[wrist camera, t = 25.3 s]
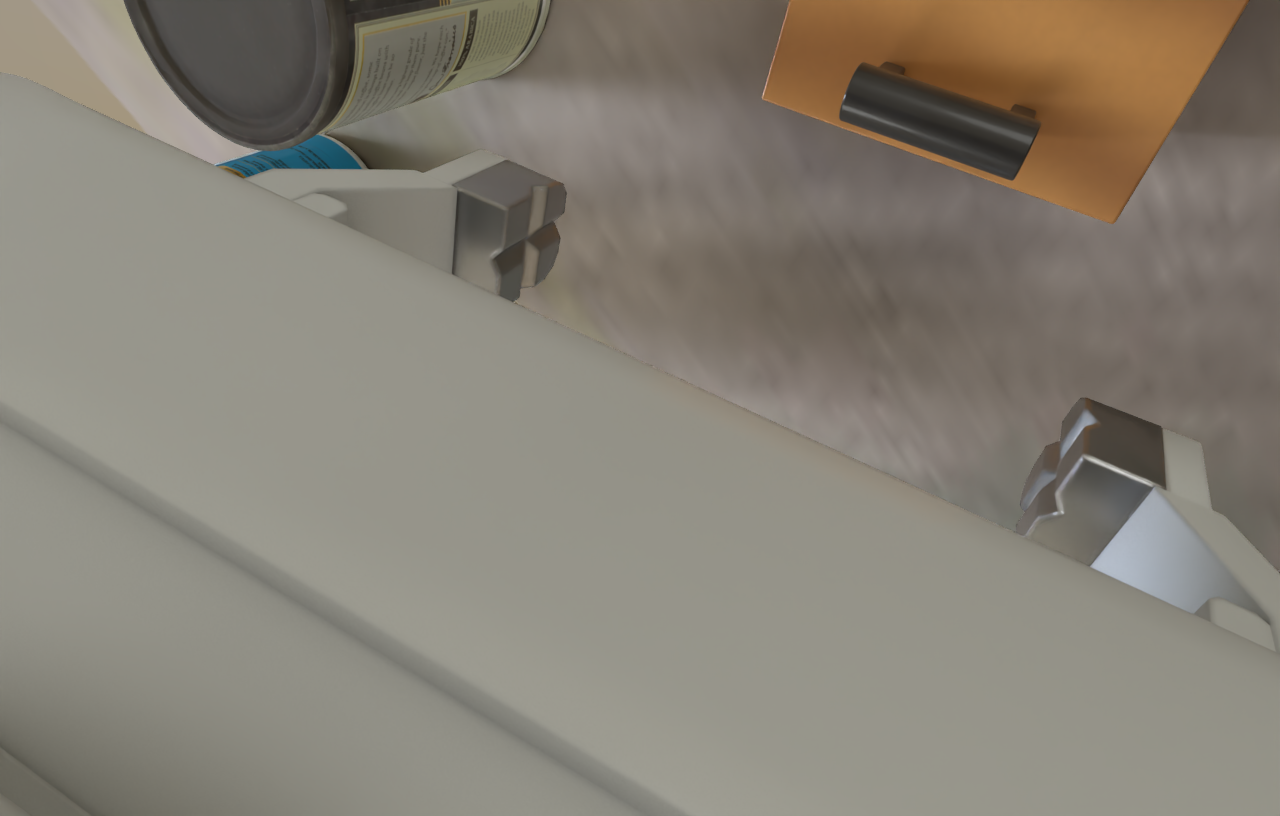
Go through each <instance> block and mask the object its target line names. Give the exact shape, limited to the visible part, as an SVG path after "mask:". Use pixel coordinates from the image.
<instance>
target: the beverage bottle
mask: <svg viewBox="0 0 1280 816" xmlns="http://www.w3.org/2000/svg"><path fill="white" fill-rule="evenodd" d="M213 165H215V166H217V167H219V168H221V169H224V170H226V171H228V172H230V173H232V174H234V175H237V176H239V177H241V178H243V179H244V178H247V177H250V176H253V175H255V174H258V173H261V172H264V171H267V170H270V169H368V168H367V167H366V165H365V164H364V163H363V162H362V160H361V159H360V158H359V157H358V156H357V155H356V154H355V153H354V152H353V151H352V150H351V149H349V148H348V147H347V146H346V145H344V144H343V143H341V142H339V141H338V140H336V139H334V138H332V137H329V136H326V135H323V134H317V135H315V136H314V137H312V138H310V139H308V140H307V141H305V142H303V143H301V144H299V145H296V146H294V147H291V148H288V149H283V150H278V151H261V150H258V151H255V152H251V153H248V154H245V155H242V156H239V157H236V158H232V159H229V160H226V161H223V162H219V163H216V164H213Z"/></svg>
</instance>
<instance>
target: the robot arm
mask: <svg viewBox="0 0 1280 816" xmlns="http://www.w3.org/2000/svg"><path fill="white" fill-rule="evenodd" d="M566 195H567V193H566V190H565V187H564V184H563V183H561V182H558V181H556V180H554V179H551V178H549V177H547V176H545V175H542V174H540V173H538V172H535V171H533V170H531V169H528V168H526V167H524V166H521V165H519V164H517V163H514V162H512V161H510V160H509V159H507V158H504V157H502V156H499V155H496V154H494V153H491V152H488V151H485V150H483V149H479V150H477V151H474V152H472V153H469V154H467V155H465V156H462V157H460V158H457V159H455V160H453V161H450V162H448V163H445V164H443V165H441V166H438V167H436V168H434V169H431V170H429V171H426V172H424V173H421V172H419V171H417V170H383V169H270V170H267V171H264V172H261V173H258V174H255V175H253V176H250V177H247V178H244V179H243V178H241V177H239V176H237V175H234V174H232V173H230V172H228V171H226V170H224V169H221V168H219V167H217V166H215V165H213V164H210V163H208V162H206V161H204V160H202V159H200V158H197V157H195V156H193V155H191V154H189V153H186V152H184V151H182V150H180V149H178V148H175V147H173V146H171V145H169V144H167V143H165V142H162V141H160V140H158V139H156V138H154V137H151V136H149V135H147V134H145V133H143V132H140V131H138V130H136V129H134V128H132V127H130V126H127V125H125V124H123V123H121V122H118V121H116V120H114V119H112V118H110V117H108V116H106V115H103V114H101V113H99V112H97V111H95V110H93V109H90V108H88V107H86V106H84V105H82V104H79V103H77V102H75V101H73V100H71V99H69V98H67V97H65V96H63V95H61V94H59V93H57V92H55V91H53V90H51V89H49V88H47V87H45V86H43V85H40V84H38V83H36V82H33V81H31V80H29V79H26V78H23V77H20V76H17V75H12V74H7V73H1V72H0V816H1280V573H1279V572H1278V571H1277V570H1276V569H1275V568H1274V567H1273V566H1272V565H1271V564H1270V563H1269V561H1268V560H1267V559H1266V558H1265V557H1264V556H1263V555H1262V554H1261V553H1260V552H1259V551H1258V550H1257V549H1256V548H1255V547H1254V546H1253V545H1252V544H1251V543H1250V542H1249V541H1248V540H1247V539H1246V537H1245V536H1244V535H1243V534H1242V533H1241V532H1240V531H1239V530H1238V529H1237V528H1236V527H1235V526H1234V525H1233V524H1232V523H1231V522H1230V521H1229V520H1228V519H1227V518H1226V517H1225V516H1224V515H1222V514H1220V513H1218V512H1215V511H1213V510H1212V506H1211V500H1210V493H1209V487H1208V481H1207V474H1206V468H1205V462H1204V456H1203V449H1202V445H1201V444H1200V443H1199V442H1198V441H1196V440H1194V439H1191V438H1188V437H1185V436H1183V435H1180V434H1177V433H1174V432H1172V431H1169V430H1166V429H1163V428H1161V426H1159V425H1156V424H1154V423H1151V422H1148V421H1146V420H1143V419H1141V418H1138V417H1136V416H1133V415H1130V414H1128V413H1125V412H1123V411H1120V410H1117V409H1115V408H1112V407H1110V406H1107V405H1104V404H1102V403H1099V402H1097V401H1094V400H1091V399H1089V398H1080V399H1079V400H1078V401H1077V402H1076V404H1075V405H1074V406H1073V407H1072V408H1071V410H1070V411H1069V413H1068V414H1067V416H1066V417H1065V418H1064V420H1063V421H1062V428H1061V436H1060V441H1058V442H1055V443H1053V444H1050V445H1048V446H1046V447H1045V448H1044V450H1043V451H1042V453H1041V455H1040V456H1039V458H1038V459H1037V461H1036V463H1035V464H1034V466H1033V468H1032V470H1031V472H1030V474H1029V476H1028V478H1027V480H1026V482H1025V485H1024V488H1023V491H1022V495H1021V500H1020V506H1021V508H1022V509H1023V511H1024V512H1025V513H1024V514H1023V516H1022V517H1021V518H1020V520H1019V521H1018V523H1017V525H1016V532H1013V531H1011V530H1009V529H1006V528H1004V527H1002V526H1000V525H998V524H995V523H993V522H991V521H989V520H987V519H985V518H982V517H980V516H978V515H976V514H974V513H971V512H969V511H967V510H965V509H963V508H961V507H958V506H956V505H954V504H952V503H950V502H947V501H945V500H943V499H941V498H939V497H937V496H934V495H932V494H930V493H928V492H926V491H923V490H921V489H919V488H917V487H915V486H913V485H910V484H908V483H906V482H904V481H902V480H900V479H897V478H895V477H893V476H891V475H889V474H886V473H884V472H882V471H880V470H878V469H876V468H873V467H871V466H869V465H867V464H865V463H862V462H860V461H858V460H856V459H854V458H852V457H849V456H847V455H845V454H843V453H841V452H838V451H836V450H834V449H832V448H830V447H828V446H825V445H823V444H821V443H819V442H817V441H814V440H812V439H810V438H808V437H806V436H804V435H801V434H799V433H797V432H795V431H793V430H791V429H788V428H786V427H784V426H782V425H780V424H777V423H775V422H773V421H771V420H769V419H767V418H764V417H762V416H760V415H758V414H756V413H753V412H751V411H749V410H747V409H745V408H743V407H740V406H738V405H736V404H734V403H732V402H729V401H727V400H725V399H723V398H721V397H719V396H716V395H714V394H712V393H710V392H708V391H706V390H703V389H701V388H699V387H697V386H695V385H692V384H690V383H688V382H686V381H684V380H682V379H679V378H677V377H675V376H673V375H671V374H668V373H666V372H664V371H662V370H660V369H658V368H655V367H653V366H651V365H649V364H647V363H644V362H642V361H640V360H638V359H636V358H634V357H631V356H629V355H627V354H625V353H623V352H621V351H618V350H616V349H614V348H612V347H610V346H607V345H605V344H603V343H601V342H599V341H597V340H594V339H592V338H590V337H588V336H586V335H583V334H581V333H579V332H577V331H575V330H573V329H570V328H568V327H566V326H564V325H562V324H559V323H557V322H555V321H553V320H551V319H549V318H546V317H544V316H542V315H540V314H538V313H536V312H533V311H531V310H529V309H527V308H525V307H522V306H520V305H518V304H516V303H514V301H515V300H517V299H518V298H519V296H520V289H521V288H528V287H535V286H536V285H538V284H539V283H540V282H542V281H543V280H544V279H545V278H546V276H547V275H548V273H549V272H550V270H551V269H552V267H553V266H554V263H555V260H556V257H557V254H558V250H559V244H560V235H559V233H558V230H557V228H556V225H555V221H556V220H557V219H558V218H559V217H560V216H561V215H562V214H563V213H564V212H565V203H566Z"/></svg>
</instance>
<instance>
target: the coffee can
mask: <svg viewBox="0 0 1280 816" xmlns="http://www.w3.org/2000/svg"><path fill="white" fill-rule="evenodd" d="M124 3H125V6H126V8H127V11H128V14H129V16H130V19H131V22H132V24H133V26H134V28H135V30H136V32H137V35H138V37H139V39H140V41H141V43H142V45H143V46H144V48H145V50H146V52H147V54H148V55H149V57H150V59H151V61H152V62H153V64H154V66H155V67H156V69H157V71H158V72H159V74H160V75H161V76H162V78H163V79H164V81H165V82H166V83H167V85H168V86H169V87H170V89H171V90H172V91H173V92H174V94H175V95H176V96H177V97H178V98H179V100H180V101H181V102H182V103H183V104H184V105H185V106H186V107H187V108H188V109H189V110H190V111H191V112H192V113H193V114H194V115H195V116H196V117H197V118H198V119H199V120H201V121H202V122H203V123H204V124H206V125H207V126H208V127H209V128H211V129H212V130H213V131H215V132H217V133H218V134H220V135H221V136H223V137H224V138H226V139H228V140H230V141H232V142H234V143H236V144H239V145H241V146H244V147H247V148H251V149H255V150H261V151H278V150H283V149H288V148H291V147H294V146H296V145H299V144H301V143H303V142H305V141H307V140H308V139H310V138H312V137H314V136H315V135H317V134H320V133H323V132H326V131H329V130H332V129H335V128H338V127H341V126H344V125H347V124H350V123H353V122H356V121H359V120H362V119H365V118H368V117H371V116H374V115H377V114H380V113H383V112H386V111H389V110H392V109H395V108H398V107H401V106H404V105H407V104H410V103H413V102H416V101H419V100H422V99H425V98H428V97H431V96H434V95H437V94H440V93H443V92H446V91H450V90H452V89H455V88H458V87H461V86H464V85H467V84H470V83H473V82H476V81H479V80H483V79H491V78H495V77H498V76H500V75H502V74H505V73H507V72H509V71H510V70H512V69H513V68H515V67H516V66H517V65H518V64H520V63H521V62H522V61H523V60H524V59H525V58H526V57H527V55H528V54H529V53H530V52H531V50H532V49H533V48H534V46H535V44H536V42H537V40H538V38H539V37H540V35H541V33H542V32H543V29H544V25H545V21H546V18H547V15H548V11H549V6H550V0H124Z"/></svg>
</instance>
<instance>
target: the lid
mask: <svg viewBox="0 0 1280 816" xmlns="http://www.w3.org/2000/svg"><path fill="white" fill-rule="evenodd" d="M1249 1H1250V0H789V3H788V7H787V11H786V14H785V18H784V21H783V25H782V28H781V32H780V35H779V39H778V42H777V46H776V49H775V53H774V56H773V60H772V63H771V67H770V70H769V74H768V77H767V81H766V84H765V88H764V91H763V95H762V99H763V100H765V101H767V102H770V103H773V104H776V105H779V106H781V107H784V108H787V109H790V110H793V111H795V112H798V113H801V114H804V115H807V116H809V117H812V118H815V119H818V120H821V121H824V122H826V123H829V124H832V125H835V126H838V127H840V128H843V129H846V130H849V131H852V132H854V133H857V134H860V135H863V136H866V137H868V138H871V139H874V140H877V141H880V142H882V143H885V144H888V145H891V146H894V147H897V148H899V149H902V150H905V151H908V152H911V153H913V154H916V155H919V156H922V157H925V158H927V159H930V160H933V161H936V162H939V163H941V164H944V165H947V166H950V167H953V168H955V169H958V170H961V171H964V172H967V173H970V174H972V175H975V176H978V177H981V178H984V179H986V180H989V181H992V182H995V183H998V184H1000V185H1003V186H1006V187H1009V188H1012V189H1014V190H1017V191H1020V192H1023V193H1026V194H1028V195H1031V196H1034V197H1037V198H1040V199H1043V200H1045V201H1048V202H1051V203H1054V204H1057V205H1059V206H1062V207H1065V208H1068V209H1071V210H1073V211H1076V212H1079V213H1082V214H1085V215H1087V216H1090V217H1093V218H1096V219H1099V220H1102V221H1104V222H1107V223H1110V224H1114V223H1115V222H1116V220H1117V219H1118V217H1119V215H1120V214H1121V212H1122V210H1123V209H1124V207H1125V206H1126V204H1127V202H1128V201H1129V199H1130V197H1131V196H1132V194H1133V192H1134V191H1135V189H1136V187H1137V186H1138V184H1139V182H1140V181H1141V179H1142V177H1143V176H1144V174H1145V172H1146V171H1147V169H1148V168H1149V166H1150V164H1151V163H1152V161H1153V159H1154V158H1155V156H1156V154H1157V153H1158V151H1159V149H1160V148H1161V146H1162V144H1163V143H1164V141H1165V139H1166V138H1167V136H1168V135H1169V133H1170V131H1171V130H1172V128H1173V126H1174V125H1175V123H1176V121H1177V120H1178V118H1179V116H1180V115H1181V113H1182V111H1183V110H1184V108H1185V106H1186V105H1187V103H1188V101H1189V100H1190V98H1191V97H1192V95H1193V93H1194V92H1195V90H1196V88H1197V87H1198V85H1199V83H1200V82H1201V80H1202V78H1203V77H1204V75H1205V73H1206V72H1207V70H1208V68H1209V67H1210V65H1211V63H1212V62H1213V60H1214V59H1215V57H1216V55H1217V54H1218V52H1219V50H1220V49H1221V47H1222V45H1223V44H1224V42H1225V40H1226V39H1227V37H1228V35H1229V34H1230V32H1231V30H1232V29H1233V27H1234V26H1235V24H1236V22H1237V21H1238V19H1239V17H1240V16H1241V14H1242V12H1243V11H1244V9H1245V7H1246V6H1247V4H1248V2H1249Z"/></svg>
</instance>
